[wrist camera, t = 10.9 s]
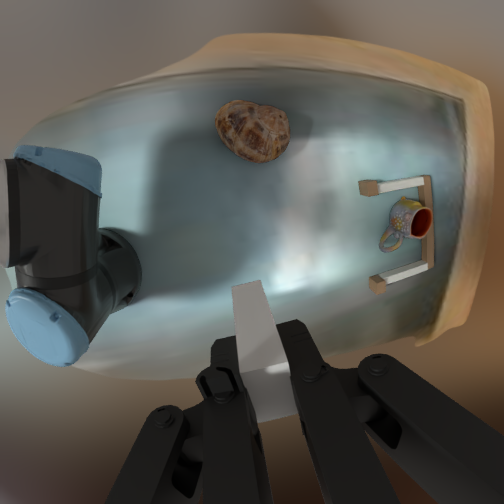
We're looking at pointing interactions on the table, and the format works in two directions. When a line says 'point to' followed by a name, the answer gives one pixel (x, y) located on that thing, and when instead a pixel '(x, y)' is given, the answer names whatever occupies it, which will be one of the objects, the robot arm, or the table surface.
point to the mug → (407, 222)
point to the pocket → (427, 262)
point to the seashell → (253, 130)
